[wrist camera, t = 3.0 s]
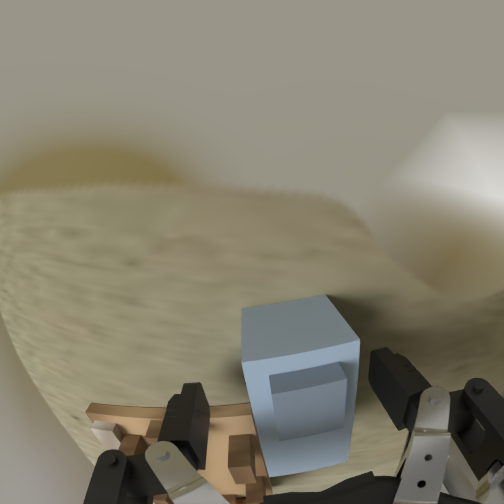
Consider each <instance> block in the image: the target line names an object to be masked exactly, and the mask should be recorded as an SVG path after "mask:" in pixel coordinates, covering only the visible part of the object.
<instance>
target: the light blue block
mask: <svg viewBox="0 0 504 504" xmlns="http://www.w3.org/2000/svg"><path fill="white" fill-rule="evenodd" d="M359 352H360V339H359V338H358V336H357V335H356V334H355V332H354V331H353V330H352V328H351V327H350V326H349V325H348V323H347V322H346V321H345V319H344V318H343V317H342V315H341V314H340V313H339V312H338V310H337V309H336V308H335V306H334V305H333V304H332V303H331V301H330V300H329V299H328V298H327V296H326V295H321V296H315V297H310V298H305V299H299V300H293V301H288V302H282V303H276V304H270V305H263V306H257V307H250V308H243V309H241V363H242V368H243V372H244V377H245V381H246V386H247V390H248V395H249V399H250V403H251V407H252V412H253V416H254V420H255V424H256V428H257V432H258V436H259V440H260V444H261V448H262V452H263V456H264V460H265V464H266V467H267V471H268V475H269V477H276V476H283V475H289V474H295V473H301V472H306V471H311V470H316V469H320V468H325V467H329V466H333V465H337V464H340V463H344V462H347V458H348V452H349V446H350V440H351V434H352V427H353V419H354V412H355V403H356V393H357V382H358V369H359Z"/></svg>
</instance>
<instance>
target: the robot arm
mask: <svg viewBox="0 0 504 504" xmlns="http://www.w3.org/2000/svg"><path fill="white" fill-rule="evenodd" d="M369 382H370V385H371V387H372V389H373V390H374V392H375V394H376V395H377V397H378V398H379V400H380V402H381V403H382V405H383V407H384V408H385V410H386V411H387V413H388V415H389V416H390V418H391V420H392V421H393V423H394V424H395V426H396V428H397V429H398V431H400V430H402V429H405V428H407V429H408V431H409V432H408V435H407V438H406V442H405V445H404V449H403V452H402V455H401V459H400V462H399V465H398V467H397V470H396V472H395V475H394V477H393V476H374V475H373V473H372V471H370V472H367V473H364V474H361V475H358V476H355V477H352V478H349V479H346V480H344V481H342V482H340V483H338V484H336V485H334V486H332V487H330V488H328V489H326V490H324V491H321V492H289V493H282V494H275V495H267V496H263V502H261V503H258V504H504V399H503V397H502V396H501V395H500V394H499V393H498V392H497V391H496V390H495V389H494V388H493V387H492V386H491V385H490V384H489V383H488V382H487V381H486V380H484V379H482V378H473V379H470V380H469V381H468V382H467V383H466V385H465V387H464V389H462V390H458V391H453V392H448V391H447V390H445V389H444V388H441V387H432V386H431V385H430V384H429V383H428V381H427V380H426V379H425V378H424V377H423V376H422V375H421V374H420V372H419V371H418V370H416V368H415V367H414V366H413V365H412V364H411V362H410V361H409V360H408V359H407V358H406V357H404V356H402V355H400V354H398V353H397V354H393V353H392V352H391V351H390V350H389V348H388V347H383V348H380V349H377V350H373V351H372V352H371V355H370V365H369ZM209 424H210V408H209V404H208V401H207V399H206V396H205V393H204V390H203V387H202V385H201V383H200V382H197V383H184V385H183V388H182V392H181V394H174V396H173V397H172V398H171V399H170V400H169V401H168V405H167V408H166V412H165V415H164V419H163V422H162V426H161V429H160V433H159V437H158V440H157V442H156V443H154V444H152V445H150V446H149V447H148V448H147V450H146V452H145V453H141V454H136V455H130V456H126V455H125V454H124V453H123V452H122V451H120V450H117V449H110V450H107V451H105V452H103V453H102V454H101V455H100V456H99V457H98V460H97V463H96V466H95V469H94V472H93V475H92V477H91V481H90V484H89V487H88V490H87V493H86V496H85V500H84V503H83V504H153V497H154V496H155V495H161V494H167V493H168V496H169V497H170V499H171V500H172V501H173V503H174V504H230V503H229V502H228V501H227V500H226V499H225V498H224V497H223V496H222V495H221V494H220V493H219V492H218V491H217V490H216V489H215V488H214V487H213V486H212V485H211V484H210V483H209V482H208V481H207V480H206V479H205V478H204V477H202V476H201V475H200V474H199V473H198V472H197V470H205V468H206V456H207V445H208V434H209ZM442 483H443V484H444V486H445V488H446V489H447V491H448V493H449V494H446V493H442V492H440V491H441V486H442Z"/></svg>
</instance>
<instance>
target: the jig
mask: <svg viewBox="0 0 504 504" xmlns="http://www.w3.org/2000/svg"><path fill="white" fill-rule="evenodd" d="M209 408H210V424H209V434H208V445H207V456H206V468H205V470H197V472H198V473H199V474H200V475H201V476H202V477H204V478H205V479H206V480H207V481H208V482H209V483H210V484H211V485H212V486H213V487H214V488H215V489H216V490H217V491H218V492H219V493H220V494H221V495H222V496H223V497H224V498H225V499H226V500H227V501H228V502H229V503H230V504H236V497H246V504H258V503H261V502H263V496H266V495H271V494H273V493H272V485H271V481H270V477H269V475H268V471H267V467H266V464H265V460H264V456H263V452H262V448H261V444H260V440H259V436H258V432H257V428H256V424H255V420H254V416H253V412H252V407H251V403H246V404H236V405H225V406H212V407H209ZM165 412H166V408H146V407H126V406H113V405H103V404H94V403H91V404H90V405H89V407H88V409H87V410H86V414H87V415H88V417H89V418H90V420H91V421H92V423H93V425H92V426H91V429H92V431H93V432H94V434H95V435H96V436H97V438H98V439H99V440H100V442H101V443H102V444H103V446H104V447H105V448H106V450H110V449H117V450H120V451H122V452H123V453H124V454H125V455H126V456H130V455H136V454H141V453H145V452H146V450H147V448H148V447H149V446H150V445H152V444H154V443H156V442H157V440H158V437H159V433H160V429H161V426H162V422H163V419H164V415H165ZM153 502H154V503H155V504H174V503H173V501H172V500H171V499H170V497H169V496H168V493H167V494H161V495H155V496H154V497H153Z"/></svg>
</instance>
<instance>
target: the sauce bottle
mask: <svg viewBox="0 0 504 504" xmlns="http://www.w3.org/2000/svg"><path fill="white" fill-rule="evenodd" d="M236 504H246V499H245V498H236Z"/></svg>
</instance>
